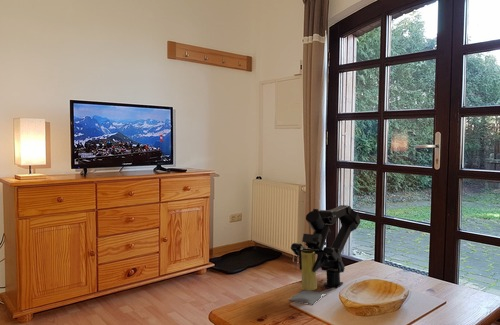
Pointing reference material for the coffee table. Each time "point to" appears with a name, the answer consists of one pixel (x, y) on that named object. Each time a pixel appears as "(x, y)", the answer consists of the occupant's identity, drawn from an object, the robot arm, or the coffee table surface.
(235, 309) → the coffee table surface
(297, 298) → the mat
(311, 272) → the vase
